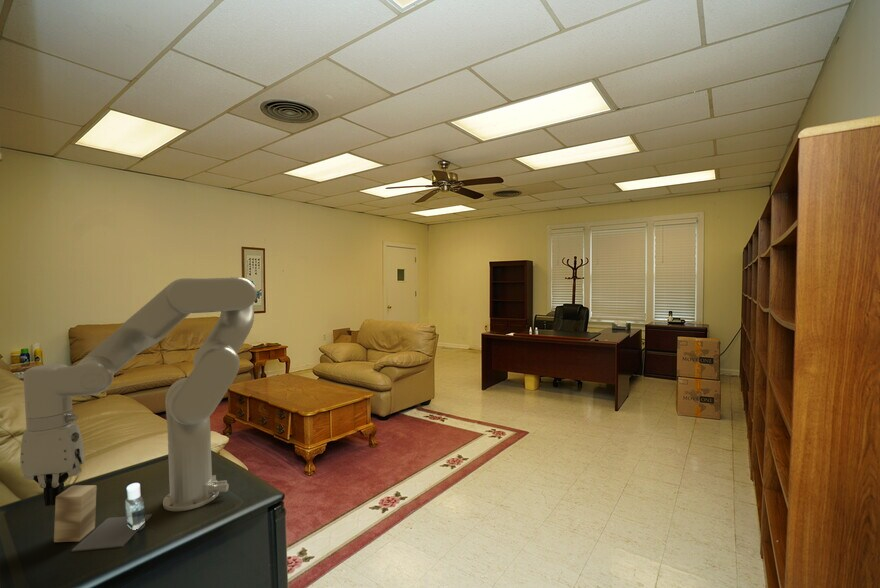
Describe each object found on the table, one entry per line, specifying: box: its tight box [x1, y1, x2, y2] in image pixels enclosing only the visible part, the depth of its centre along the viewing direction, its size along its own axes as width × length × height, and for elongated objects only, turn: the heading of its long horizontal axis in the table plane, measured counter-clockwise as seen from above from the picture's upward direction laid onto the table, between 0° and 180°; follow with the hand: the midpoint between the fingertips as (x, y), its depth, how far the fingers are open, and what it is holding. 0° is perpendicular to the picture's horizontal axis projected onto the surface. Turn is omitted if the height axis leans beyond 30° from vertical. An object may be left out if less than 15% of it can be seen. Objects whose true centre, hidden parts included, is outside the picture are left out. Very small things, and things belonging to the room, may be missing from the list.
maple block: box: [53, 484, 98, 543], centre depth 93 cm, size 5×5×10 cm
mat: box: [71, 513, 153, 552], centre depth 95 cm, size 10×12×1 cm
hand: (54, 502), depth 93 cm, fingers closed
